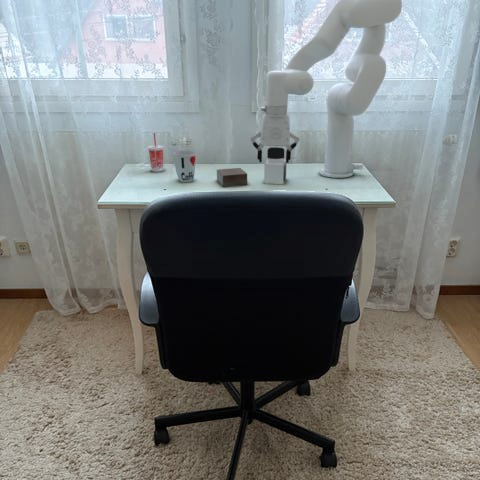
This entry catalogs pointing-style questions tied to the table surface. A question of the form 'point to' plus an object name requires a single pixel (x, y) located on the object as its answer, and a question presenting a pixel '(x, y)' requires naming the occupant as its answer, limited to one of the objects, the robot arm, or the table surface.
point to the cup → (185, 165)
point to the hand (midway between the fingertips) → (273, 161)
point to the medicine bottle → (275, 166)
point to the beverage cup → (156, 157)
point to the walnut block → (231, 177)
